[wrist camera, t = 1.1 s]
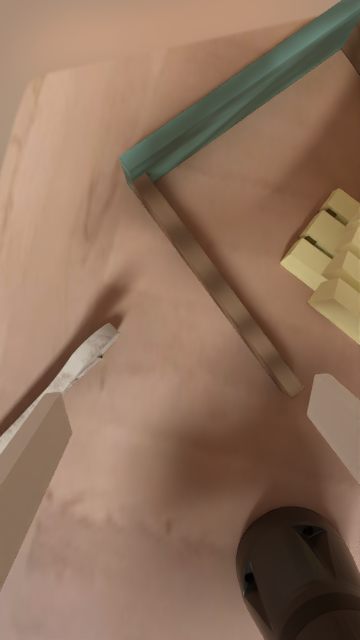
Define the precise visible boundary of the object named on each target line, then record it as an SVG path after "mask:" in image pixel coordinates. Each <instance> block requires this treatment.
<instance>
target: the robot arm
mask: <svg viewBox="0 0 360 640" xmlns="http://www.w3.org/2000/svg"><path fill="white" fill-rule="evenodd" d="M307 416H308V418H309V419H310V420H311V422H312V423H313V424H314V425H315V427H316V428H317V429H318V431H319V432H320V433H321V435H322V436H323V437H324V439H325V440H326V441H327V443H328V444H329V445H330V447H331V448H332V449H333V451H334V452H335V453H336V454H337V456H338V457H339V458H340V460H341V461H342V462H343V464H344V465H345V466H346V468H347V469H348V470H349V472H350V473H351V474H352V476H353V477H354V478H355V479H356V481H357V482H358V483H359V485H360V400H359V399H358V398H357V397H356V396H354V395H353V394H352V393H351V392H350V391H349V390H348V389H347V388H345V387H344V386H343V385H342V384H341V383H340V382H339V381H337V380H336V379H335V378H334V377H333V376H332V375H331V374H329V373H326V374H315V377H314V382H313V387H312V392H311V396H310V401H309V406H308V411H307ZM71 435H72V429H71V426H70V422H69V419H68V415H67V412H66V408H65V405H64V401H63V397H62V394H61V392H52V393H45V394H44V396H43V397H42V398H41V400H40V401H39V402H38V404H37V405H36V406H35V408H34V409H33V411H32V412H31V413H30V415H29V416H28V417H27V419H26V420H25V421H24V423H23V424H22V426H21V427H20V428H19V430H18V431H17V432H16V434H15V435H14V436H13V438H12V439H11V441H10V442H9V443H8V445H7V446H6V447H5V449H4V450H3V452H2V453H1V454H0V591H1V589H2V586H3V584H4V582H5V580H6V578H7V576H8V573H9V571H10V569H11V567H12V565H13V562H14V560H15V558H16V556H17V554H18V551H19V549H20V547H21V545H22V543H23V540H24V538H25V536H26V534H27V532H28V529H29V527H30V525H31V523H32V521H33V518H34V516H35V514H36V512H37V510H38V507H39V505H40V503H41V501H42V499H43V496H44V494H45V492H46V490H47V488H48V486H49V483H50V481H51V479H52V477H53V475H54V472H55V470H56V468H57V466H58V464H59V461H60V459H61V457H62V455H63V453H64V450H65V448H66V446H67V444H68V442H69V439H70V437H71ZM236 570H237V577H238V581H239V585H240V589H241V592H242V596H243V599H244V602H245V604H246V607H247V609H248V611H249V613H250V615H251V616H252V618H253V620H254V622H255V623H256V625H257V627H258V629H259V631H260V632H261V634H262V636H263V638H264V640H360V573H359V570H358V568H357V566H356V563H355V561H354V559H353V556H352V554H351V552H350V550H349V549H348V547H347V545H346V544H345V542H344V541H343V539H342V538H341V537H340V535H339V534H338V533H337V532H336V530H335V529H334V528H333V527H332V525H331V524H330V523H329V522H328V521H327V520H326V519H324V518H323V517H322V516H320V515H319V514H317V513H315V512H313V511H310V510H307V509H304V508H298V507H287V508H280V509H277V510H274V511H271V512H269V513H267V514H265V515H263V516H262V517H260V518H259V519H258V520H257V521H255V522H254V523H253V524H252V525H251V527H250V528H249V529H248V530H247V532H246V533H245V535H244V537H243V538H242V541H241V543H240V546H239V549H238V553H237V559H236Z"/></svg>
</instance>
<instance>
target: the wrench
mask: <svg viewBox="0 0 360 640" xmlns="http://www.w3.org/2000/svg"><path fill="white" fill-rule="evenodd" d="M119 334H120V332H119V331H118V330H117V329H115V328H114V327H113V326H112V325H111V324H110V323H107V324H105V325H104V326H102V327H101V328H100V329H98V330H97V331H96V332H95V333H93V334H92V335H91V336H90V337H89V338H88V339H86V340H85V341H84V342H83V343H82V344H81V345H80V346H79V347H78V348H77V350H76V351H75V352H74V353H73V354H72V356H71V357H70V358H69V360H68V361H67V363H66V364H65V365H64V367H63V368H62V370H61V371H60V372H59V374H58V375H57V376H56V377H55V379H54V380H53V381H52V382H51V384H50V385H49V386H48V387H47V388H46V389H45V390H44V392H43V393H42V394H41V395H40V396H39V397H38V398H37V399H36V400H35V401H34V402H33V403H32V404H31V405H30V406H29V407H28V408H27V409H26V410H25V411H24V413H23V414H22V415H21V416H20V417H19V418H18V419H17V420H16V421H15V422H14V423H13V424H12V425H11V426H10V427H9V428H8V429H7V430H6V431H5V432H4V434H3V435H2V436H1V437H0V454H1V453H2V452H3V450H4V449H5V447H6V446H7V445H8V443H9V442H10V441H11V439H12V438H13V436H14V435H15V434H16V432H17V431H18V430H19V428H20V427H21V426H22V424H23V423H24V421H25V420H26V419H27V417H28V416H29V415H30V413H31V412H32V411H33V409H34V408H35V406H36V405H37V404H38V402H39V401H40V400H41V398H42V397H43V396H44V394H45V393H52V392H61V394H62V396H63V395H64V394H65V393H66V392H67V391H68V390H69V389H70V388H71V387H72V386H73V385H74V384H75V383H76V382H77V381H78V380H79V379H80V378H81V377H82V376H84V375H85V374H86V373H87V372H88V371H89V370H90V369H91V368H92V367H93V366H94V365H95V364H97V363H98V362H99V361H100V360H101V359H102V358H101V355H102V354H103V353H104V352H105V351H106V350H107V349H108V348H109V347H110V346H111V345H112V344H113V343H114V341H115V340H116V339H117V338H118V337H119Z"/></svg>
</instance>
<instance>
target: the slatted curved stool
mask: <svg viewBox="0 0 360 640" xmlns="http://www.w3.org/2000/svg"><path fill="white" fill-rule="evenodd" d="M299 238H301V239H299V240H298V241H296V242H295V243H294V244H293V246H292V247H291V248H290V250H289V251H288V252H287V254H286V255H285V257H284V258H283V259H282V261H281V262H280V263H279V264H280V265H282V266H283V267H284V268H286V269H287V270H288V271H290V272H291V273H292V274H293V275H295V276H296V277H297V278H299V279H300V280H301V281H303V282H304V283H305V284H306V285H308V286H309V287H310V288H312V289H313V290H314V291H315V292H314V293H313V295H312V296H311V297H310V299H309V300H308V301H307V303H308V304H309V305H311V306H312V307H313V308H315V309H316V310H317V311H318V312H320V313H321V314H322V315H323V316H325V317H326V318H327V319H328V320H330V321H331V322H332V323H333V324H335V325H336V326H337V327H338V328H340V329H341V330H342V331H343V332H345V333H346V334H347V335H348V336H349V337H351V338H352V339H353V340H354V341H355V342H357V343H358V344H359V345H360V203H359V202H357V201H356V200H354V199H353V198H352V197H350V196H349V195H348V194H347V193H345V192H344V191H343V190H341V189H340V188H338V189H336V190H334V191H333V192H332V193H331V195H330V196H329V197H328V199H327V200H326V201H325V203H324V204H323V205H322V207H321V208H320V209H319V213H318V214H317V215H315V216H314V218H313V219H312V220H311V222H310V223H309V224H308V226H307V227H306V228H305V230H304V231H303V232H302V234H301V235H300V236H299Z"/></svg>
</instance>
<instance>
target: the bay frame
mask: <svg viewBox="0 0 360 640" xmlns="http://www.w3.org/2000/svg"><path fill="white" fill-rule="evenodd" d="M340 49H342V51H343V52H344V53H345V55H346V56H347V58H348V59H349V60H350V62H351V63H352V65H353V66H354V67H355V69H356V70H357V72H358V73H359V74H360V0H342V1H340V2H339V3H337V4H336V5H334V6H333V7H332V8H330V9H329V10H327V11H326V12H324V13H323V14H322V15H320V16H319V17H317V18H316V19H314V20H313V21H312V22H310V23H309V24H307V25H306V26H304V27H303V28H302V29H300V30H299V31H297V32H296V33H295V34H293V35H292V36H290V37H289V38H287V39H286V40H285V41H283V42H282V43H280V44H279V45H277V46H276V47H275V48H273V49H272V50H270V51H269V52H268V53H266V54H265V55H263V56H262V57H260V58H259V59H258V60H256V61H255V62H253V63H252V64H251V65H249V66H248V67H246V68H245V69H243V70H242V71H241V72H239V73H238V74H236V75H235V76H233V77H232V78H231V79H229V80H228V81H226V82H225V83H224V84H222V85H221V86H219V87H218V88H216V89H215V90H214V91H212V92H211V93H209V94H208V95H206V96H205V97H204V98H202V99H201V100H199V101H198V102H197V103H195V104H194V105H192V106H191V107H189V108H188V109H187V110H185V111H184V112H182V113H181V114H179V115H178V116H177V117H175V118H174V119H172V120H171V121H170V122H168V123H167V124H165V125H164V126H162V127H161V128H160V129H158V130H157V131H155V132H154V133H152V134H151V135H150V136H148V137H147V138H145V139H144V140H143V141H141V142H140V143H138V144H137V145H135V146H134V147H133V148H131V149H130V150H128V151H127V152H125V153H124V154H123V155H121V156H120V157H119V158H120V161H121V165H122V168H123V171H124V174H125V177H126V180H127V183H128V185H129V186H130V187H131V189H132V190H133V191H134V193H135V194H136V195H137V197H138V198H139V200H140V201H141V202H142V204H143V205H144V206H145V208H146V209H147V210H148V212H149V213H150V214H151V216H152V217H153V218H154V220H155V221H156V223H157V224H158V225H159V227H160V228H161V229H162V231H163V232H164V233H165V235H166V236H167V237H168V239H169V240H170V242H171V243H172V244H173V246H174V247H175V248H176V250H177V251H178V252H179V254H180V255H181V256H182V258H183V259H184V260H185V262H186V263H187V265H188V266H189V267H190V269H191V270H192V271H193V273H194V274H195V275H196V277H197V278H198V279H199V281H200V282H201V283H202V285H203V286H204V288H205V289H206V290H207V292H208V293H209V294H210V296H211V297H212V298H213V300H214V301H215V302H216V304H217V305H218V307H219V308H220V309H221V311H222V312H223V313H224V315H225V316H226V317H227V319H228V320H229V321H230V323H231V324H232V325H233V327H234V328H235V330H236V331H237V332H238V334H239V335H240V336H241V338H242V339H243V340H244V342H245V343H246V344H247V346H248V347H249V348H250V350H251V351H252V353H253V354H254V355H255V357H256V358H257V359H258V361H259V362H260V363H261V365H262V366H263V367H264V369H265V370H266V372H267V373H268V374H269V376H270V377H271V378H272V380H273V381H274V382H275V384H276V385H277V386H278V388H279V389H280V390H281V391H282V392H283V393H285V394H287V395H288V396H290V397H291V398H293V397H294V396H295V395H297V394H298V393H299V392H301V391H302V390H303V389H304V387H303V386H302V384H301V383H300V381H299V380H298V379H297V377H296V376H295V375H294V373H293V372H292V371H291V369H290V368H289V367H288V365H287V364H286V362H285V361H284V360H283V358H282V357H281V356H280V354H279V353H278V352H277V350H276V349H275V348H274V346H273V345H272V343H271V342H270V341H269V339H268V338H267V337H266V335H265V334H264V333H263V331H262V330H261V328H260V327H259V326H258V324H257V323H256V322H255V320H254V319H253V318H252V316H251V315H250V314H249V312H248V311H247V309H246V308H245V307H244V305H243V304H242V303H241V301H240V300H239V299H238V297H237V296H236V295H235V293H234V292H233V290H232V289H231V288H230V286H229V285H228V284H227V282H226V281H225V280H224V278H223V277H222V276H221V274H220V273H219V271H218V270H217V269H216V267H215V266H214V265H213V263H212V262H211V261H210V259H209V258H208V257H207V255H206V254H205V252H204V251H203V250H202V248H201V247H200V246H199V244H198V243H197V242H196V240H195V239H194V238H193V236H192V235H191V233H190V232H189V231H188V229H187V228H186V227H185V225H184V224H183V223H182V221H181V220H180V219H179V217H178V216H177V214H176V213H175V212H174V210H173V209H172V208H171V206H170V205H169V204H168V202H167V201H166V200H165V198H164V197H163V195H162V194H161V193H160V191H159V190H158V189H157V187H156V186H155V185H154V182H155V181H157V180H158V179H159V178H161V177H162V176H164V175H165V174H166V173H168V172H169V171H171V170H172V169H173V168H175V167H176V166H178V165H179V164H180V163H182V162H183V161H185V160H186V159H187V158H189V157H190V156H192V155H193V154H194V153H196V152H197V151H199V150H200V149H201V148H203V147H204V146H206V145H207V144H208V143H210V142H211V141H213V140H214V139H215V138H217V137H218V136H220V135H221V134H223V133H224V132H225V131H227V130H228V129H230V128H231V127H232V126H234V125H235V124H237V123H238V122H239V121H241V120H242V119H244V118H245V117H246V116H248V115H249V114H251V113H252V112H253V111H255V110H256V109H258V108H259V107H260V106H262V105H263V104H265V103H266V102H267V101H269V100H270V99H272V98H273V97H274V96H276V95H277V94H279V93H280V92H281V91H283V90H284V89H286V88H287V87H288V86H290V85H291V84H293V83H294V82H295V81H297V80H298V79H300V78H301V77H302V76H304V75H305V74H307V73H308V72H309V71H311V70H312V69H314V68H315V67H316V66H318V65H319V64H321V63H322V62H323V61H325V60H326V59H328V58H329V57H330V56H332V55H333V54H335V53H336V52H337V51H339V50H340Z"/></svg>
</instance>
